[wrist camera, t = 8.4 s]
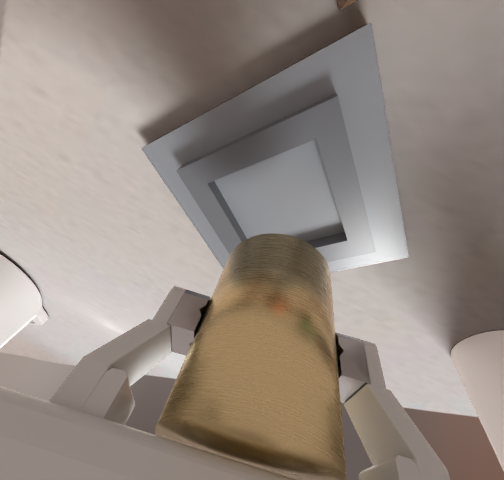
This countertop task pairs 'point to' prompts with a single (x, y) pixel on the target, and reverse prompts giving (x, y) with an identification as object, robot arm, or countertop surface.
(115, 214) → the countertop surface
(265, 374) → the cylinder
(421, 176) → the countertop surface
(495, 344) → the cylindrical container
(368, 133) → the grey square tray
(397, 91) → the countertop surface
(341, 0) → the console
